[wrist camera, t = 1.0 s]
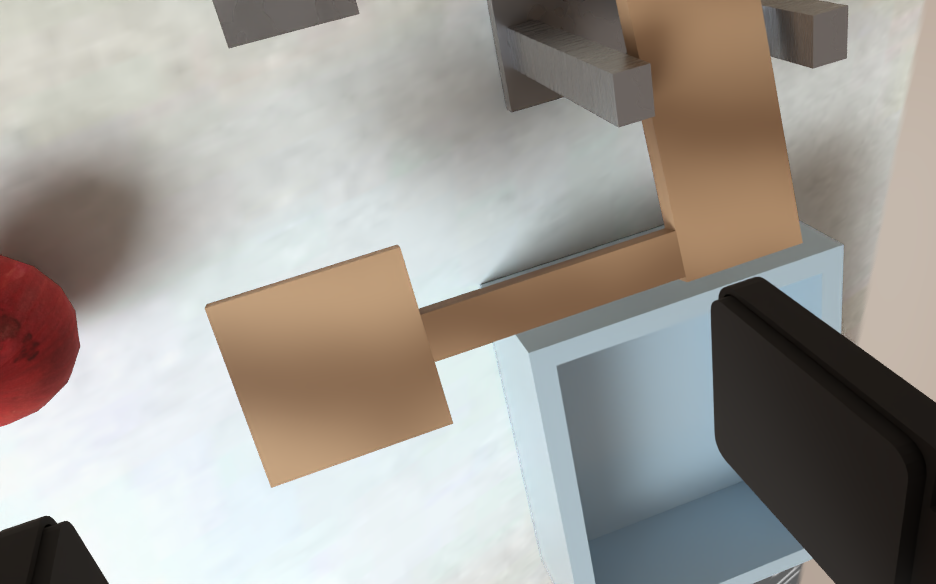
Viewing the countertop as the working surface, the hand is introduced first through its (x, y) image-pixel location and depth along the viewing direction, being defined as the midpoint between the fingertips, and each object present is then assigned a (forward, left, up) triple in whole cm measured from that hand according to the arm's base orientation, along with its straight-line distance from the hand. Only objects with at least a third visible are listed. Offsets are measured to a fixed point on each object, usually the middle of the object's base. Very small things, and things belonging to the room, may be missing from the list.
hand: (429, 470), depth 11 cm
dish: (+19, +13, -22) cm, 32 cm away
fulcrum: (0, +13, -22) cm, 26 cm away
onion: (+4, -12, -23) cm, 26 cm away
